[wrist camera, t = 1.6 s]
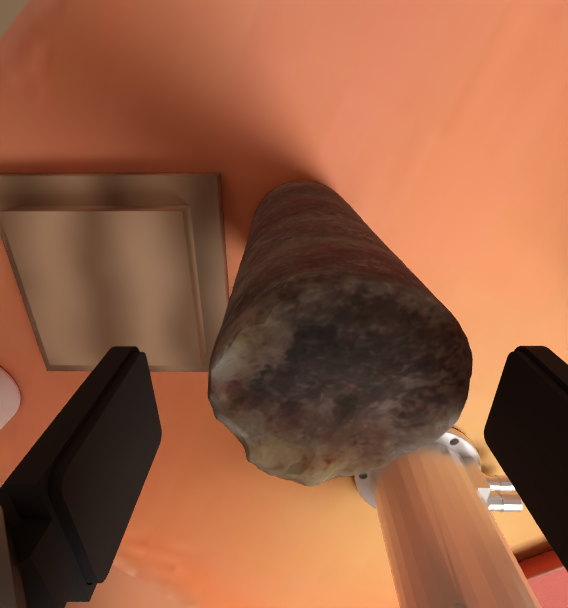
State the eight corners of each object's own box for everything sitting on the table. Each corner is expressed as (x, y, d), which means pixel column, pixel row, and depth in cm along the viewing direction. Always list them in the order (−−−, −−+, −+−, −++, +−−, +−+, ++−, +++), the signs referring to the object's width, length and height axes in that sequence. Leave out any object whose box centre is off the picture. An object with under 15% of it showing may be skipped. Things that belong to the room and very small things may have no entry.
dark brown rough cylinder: (351, 170, 26) (502, 261, 7) (357, 267, 29) (474, 499, 11) (244, 186, 26) (144, 306, 8) (261, 280, 29) (217, 521, 11)
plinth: (220, 172, 26) (210, 178, 23) (234, 361, 33) (228, 386, 29) (-4, 173, 26) (-45, 179, 23) (57, 361, 33) (32, 385, 30)
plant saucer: (446, 577, 47) (457, 607, 44) (588, 522, 42) (611, 552, 39) (504, 634, 53) (517, 664, 50) (635, 593, 48) (658, 623, 45)
